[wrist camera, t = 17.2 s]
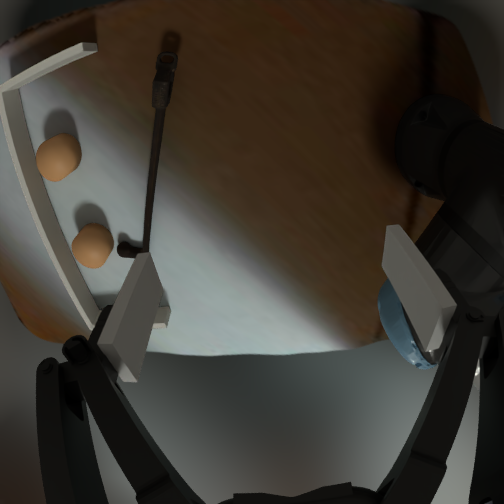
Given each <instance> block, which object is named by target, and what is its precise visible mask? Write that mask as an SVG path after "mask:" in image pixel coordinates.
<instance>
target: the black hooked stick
mask: <svg viewBox="0 0 504 504" xmlns="http://www.w3.org/2000/svg"><path fill="white" fill-rule="evenodd" d="M164 55H169V56H172V57H174V60H173V62H171V63H164V62H162V61H161V57H162V56H164ZM177 61H178V56H177V55H176V54H175V53H173V52H161V53H160V54H159V55H158V57H157V62H156V70H157V73H156V76H155V78H154V80H153V91H152V107H154V108H156V114H155V123H154V131H153V140H152V149H151V158H150V167H149V176H148V186H147V196H146V207H145V220H144V235H143V247H142V248H135V247H132V246H131V245H130V244H129V243H127V242H121V243H119V245H118V246H117V253H118V254H119V256H121V257H125V258H136V256H137V254H139V253H147V252H149V242H150V231H151V220H152V212H153V202H154V193H155V184H156V176H157V168H158V161H159V154H160V147H161V139H162V132H163V124H164V116H165V108H166V107H167V106H168V104H169V103H170V98H171V92H172V87H173V80H174V71H175V70H176V67H177Z"/></svg>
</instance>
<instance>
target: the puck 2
mask: <svg viewBox="0 0 504 504" xmlns="http://www.w3.org/2000/svg"><path fill="white" fill-rule="evenodd" d="M113 247H114V240H113V237H112V235H111V233H110V232H109V230H108V229H107V228H105V227H104V226H102V225H100V224H97V223H90V224H87V225H85V226H84V227H83V229H82V230H81V231H80V232H79V233H78V235H77V236H76V237H75V238H74V240H73V242H72V252H73V254H74V256H75V258H76V259H77V260H78V261H79V262H80V263H81V264H82V265H84V266H86V267H88V268H99V267H101V266H102V265H103V264H104V263H105V261H106V260H107V258H108V256H109V255H110V253H111V251H112V250H113Z"/></svg>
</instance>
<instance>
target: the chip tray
mask: <svg viewBox="0 0 504 504" xmlns="http://www.w3.org/2000/svg"><path fill="white" fill-rule="evenodd" d="M95 52H98V49H97V43H84V42H82V43H79V44H77V45H75V46H73V47H70V48H68V49H66V50H64V51H62V52H60V53H57V54H55V55H53V56H51V57H49V58H47V59H45V60H43V61H41V62H40V63H38V64H36V65H34V66H32V67H30V68H28V69H27V70H25V71H23V72H21V73H20V74H18V75H16V76H15V77H13V78H11V79H10V80H8V81H6V82H5V83H3V84H2V85H0V115H1V119H2V123H3V128H4V132H5V135H6V139H7V143H8V147H9V150H10V154H11V157H12V160H13V163H14V167H15V170H16V173H17V176H18V179H19V182H20V185H21V188H22V190H23V193H24V196H25V199H26V201H27V204H28V207H29V209H30V212H31V214H32V217H33V219H34V222H35V224H36V226H37V229H38V231H39V233H40V236H41V238H42V240H43V242H44V245H45V247H46V249H47V251H48V253H49V255H50V257H51V260H52V262H53V264H54V266H55V268H56V270H57V272H58V274H59V276H60V278H61V280H62V281H63V283H64V285H65V287H66V289H67V291H68V293H69V295H70V296H71V298H72V300H73V302H74V304H75V305H76V307H77V309H78V311H79V312H80V314H81V316H82V317H83V319H84V321H85V322H86V324H87V326H88V327H89V329H90V330H93V328H95V324H96V322H97V320H98V317H99V315H100V313H101V312H102V310H99V308H98V307H97V305H96V303H95V301H94V299H93V297H92V295H91V293H90V291H89V289H88V287H87V285H86V283H85V281H84V279H83V277H82V275H81V273H80V271H79V269H78V267H77V265H76V263H75V261H74V258H73V256H72V254H71V252H70V250H69V247H68V245H67V243H66V240H65V238H64V236H63V233H62V231H61V229H60V226H59V224H58V221H57V219H56V216H55V213H54V211H53V208H52V206H51V203H50V200H49V197H48V195H47V192H46V189H45V186H44V183H43V180H42V177H41V174H40V172H39V170H38V167H37V164H36V158H35V155H34V151H33V148H32V144H31V141H30V137H29V133H28V129H27V125H26V121H25V117H24V113H23V108H22V104H21V99H20V94H19V89H18V88H20V87H22V86H24V85H26V84H27V83H29V82H31V81H33V80H35V79H37V78H39V77H41V76H43V75H45V74H47V73H49V72H51V71H53V70H55V69H57V68H59V67H62V66H64V65H66V64H68V63H70V62H73V61H75V60H78V59H80V58H82V57H85V56H87V55H90V54H92V53H95ZM170 313H171V310H170V308H169V306H167V307H158V310H157V314H156V317H155V320H154V324H153V327H152V329H156V328H167V325H168V321H169V317H170Z"/></svg>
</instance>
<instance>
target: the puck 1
mask: <svg viewBox="0 0 504 504" xmlns="http://www.w3.org/2000/svg"><path fill="white" fill-rule="evenodd" d="M81 156H82V152H81V147H80V145H79V143H78V141H77V140H76V139H75V138H74V137H73V136H72V135H70V134H67V133H61V134H58V135H56V136H54V137H52V138H50V139H48V140H46V141H44V142H43V143H42V144H41V145H40V146H39V148H38V150H37V153H36V164H37V167H38V170H39V172H40V173H41V174H42V176H43V177H44V178H46V179H47V180H50V181H54V182H56V181H60V180H62V179H63V178H65V177H66V176H67V175H69V174H70V173H71V172H73V171H74V170H75V169H76V168H77V167H78V166H79V164H80V161H81Z"/></svg>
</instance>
